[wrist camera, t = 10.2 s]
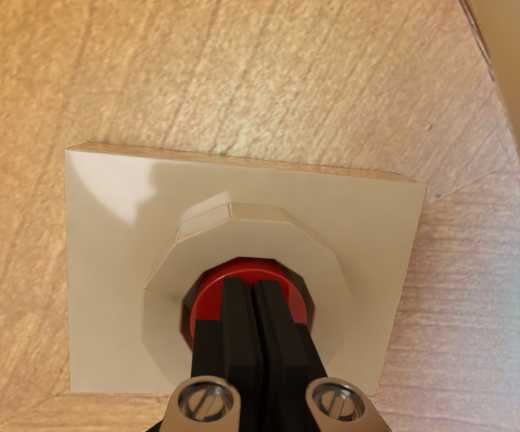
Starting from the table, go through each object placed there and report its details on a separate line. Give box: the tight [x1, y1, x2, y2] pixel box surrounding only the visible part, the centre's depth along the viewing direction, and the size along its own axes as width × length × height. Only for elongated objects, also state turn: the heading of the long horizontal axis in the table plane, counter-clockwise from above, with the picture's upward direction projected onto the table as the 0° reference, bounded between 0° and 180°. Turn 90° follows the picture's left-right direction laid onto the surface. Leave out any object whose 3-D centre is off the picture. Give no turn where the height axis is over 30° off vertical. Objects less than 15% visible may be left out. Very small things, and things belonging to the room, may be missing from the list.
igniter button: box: [190, 257, 307, 341], centre depth 12 cm, size 4×4×2 cm
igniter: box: [64, 142, 427, 396], centre depth 13 cm, size 12×9×4 cm
